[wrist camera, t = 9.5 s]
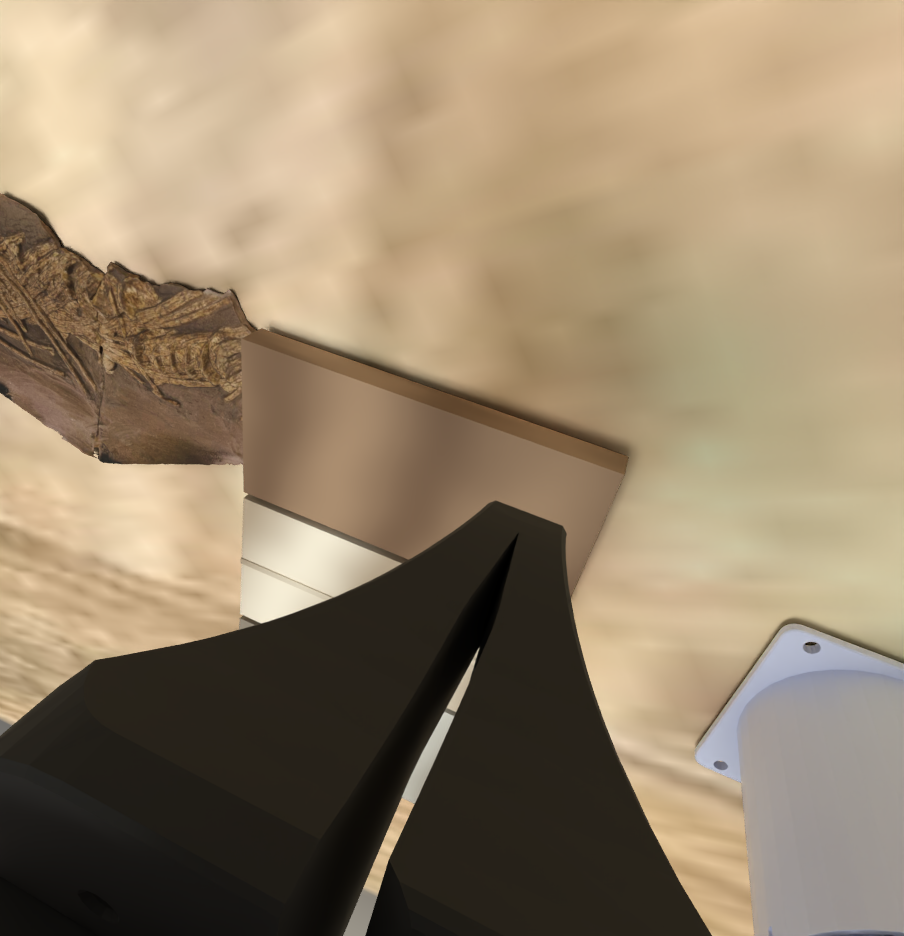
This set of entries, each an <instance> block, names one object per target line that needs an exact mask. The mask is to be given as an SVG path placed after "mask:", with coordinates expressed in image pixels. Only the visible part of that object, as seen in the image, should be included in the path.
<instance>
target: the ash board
mask: <svg viewBox="0 0 904 936" xmlns="http://www.w3.org/2000/svg"><path fill="white" fill-rule="evenodd" d="M407 560H408V559H406V558H403V557H401V556H399V555H396V554H394V553H391V552H389V551H386V550H384V549H382V548H379V547H377V546H374V545H372V544H369V543H367V542H364V541H362V540H360V539H357V538H355V537H352V536H350V535H347V534H345V533H343V532H340V531H338V530H335V529H333V528H330V527H328V526H326V525H323V524H321V523H318V522H316V521H313V520H311V519H308V518H306V517H304V516H301V515H299V514H296V513H294V512H291V511H289V510H287V509H284V508H282V507H279V506H277V505H274V504H272V503H270V502H267V501H265V500H262V499H260V498H257V497H255V496H252V495H250V494H248V495H247V496H246V497H244V501H243V534H242V558H241V564H242V568H241V601H240V614H242V615H244V616H246V617H248V618H250V619H253V620H255V621H257V622H259V623H264V622H268V621H271V620H274V619H277V618H280V617H283V616H286V615H289V614H292V613H295V612H297V611H300V610H302V609H305V608H308V607H310V606H313V605H315V604H318V603H321V602H323V601H326V600H328V599H331V598H333V597H336V596H338V595H340V594H342V593H345V592H347V591H349V590H351V589H354V588H356V587H358V586H360V585H362V584H364V583H366V582H369V581H371V580H373V579H374V578H376V577H378V576H380V575H382V574H384V573H386V572H388V571H390V570H391V569H393V568H395V567H397V566H398V565H400V564H402V563H404V562H406V561H407ZM478 651H479V649H478ZM478 651H477V653H476V654H475V656H474V658H473V660H472V662H471V664H470V666H469V667H468V669H467V671H466V673H465V675H464V677H463V678H462V680H461V682H460V684H459V686H458V688H457V690H456V691H455V693H454V695H453V697H452V699H451V701H450V702H449V704H448V706H447V708H448V709H450V710H452V711H455V712H457V709H458V707H459V705H460V702H461V700H462V698H463V696H464V693H465V691H466V689H467V686H468V684H469V681H470V678H471V674H472V671H473V668H474V664H475V661H476V657H477V654H478Z"/></svg>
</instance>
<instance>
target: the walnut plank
mask: <svg viewBox="0 0 904 936" xmlns="http://www.w3.org/2000/svg"><path fill="white" fill-rule="evenodd" d="M241 361H242V418H243V475H244V492H245V493H248V494H250V495H252V496H255V497H257V498H260V499H262V500H265V501H267V502H270V503H272V504H274V505H277V506H279V507H282V508H284V509H287V510H289V511H291V512H294V513H296V514H299V515H301V516H304V517H306V518H308V519H311V520H313V521H316V522H318V523H321V524H323V525H326V526H328V527H330V528H333V529H335V530H338V531H340V532H343V533H345V534H347V535H350V536H352V537H355V538H357V539H360V540H362V541H364V542H367V543H369V544H372V545H374V546H377V547H379V548H382V549H384V550H386V551H389V552H391V553H394V554H396V555H399V556H401V557H403V558H406V559H408V560H409V559H411V558H413V557H414V556H416V555H418V554H419V553H421V552H423V551H424V550H426V549H427V548H429V547H430V546H432V545H433V544H435V543H436V542H438V541H439V540H441V539H442V538H444V537H445V536H447V535H448V534H450V533H451V532H453V531H454V530H456V529H457V528H458V527H460V526H461V525H462V524H464V523H465V522H466V521H468V520H469V519H470V518H472V517H473V516H474V515H475V514H477V513H478V512H479V511H480V510H481V509H482V508H484V507H485V506H486V505H487V504H488V503H490V502H493V501H499V502H501V503H504V504H507V505H509V506H512V507H515V508H517V509H520V510H523V511H525V512H528V513H530V514H533V515H536V516H538V517H541V518H544V519H546V520H549V521H552V522H554V523H557V524H559V525H562V526H563V527H564V529H565V531H566V533H567V536H566V566H567V577H568V585H569V592H570V597H571V595H572V593H573V591H574V589H575V586H576V584H577V582H578V580H579V577H580V575H581V573H582V570H583V568H584V566H585V564H586V561H587V559H588V557H589V555H590V552H591V550H592V548H593V546H594V543H595V541H596V539H597V536H598V534H599V532H600V530H601V527H602V525H603V523H604V521H605V518H606V516H607V514H608V512H609V509H610V507H611V505H612V503H613V500H614V498H615V496H616V493H617V491H618V489H619V487H620V484H621V482H622V480H623V478H624V475H625V471H626V467H627V462H628V458H629V457H628V456H625V455H622V454H620V453H617V452H614V451H611V450H608V449H605V448H602V447H600V446H597V445H594V444H591V443H588V442H585V441H582V440H579V439H577V438H574V437H571V436H568V435H565V434H562V433H559V432H557V431H554V430H551V429H548V428H545V427H542V426H539V425H536V424H534V423H531V422H528V421H525V420H522V419H519V418H516V417H514V416H511V415H508V414H505V413H502V412H499V411H496V410H494V409H491V408H488V407H485V406H482V405H479V404H476V403H473V402H471V401H468V400H465V399H462V398H459V397H456V396H453V395H451V394H448V393H445V392H442V391H439V390H436V389H433V388H430V387H428V386H425V385H422V384H419V383H416V382H413V381H410V380H408V379H405V378H402V377H399V376H396V375H393V374H390V373H387V372H385V371H382V370H379V369H376V368H373V367H370V366H367V365H365V364H362V363H359V362H356V361H353V360H350V359H347V358H345V357H342V356H339V355H336V354H333V353H330V352H327V351H324V350H322V349H319V348H316V347H313V346H310V345H307V344H304V343H302V342H299V341H296V340H293V339H290V338H287V337H284V336H281V335H279V334H276V333H273V332H270V331H267V330H264V329H259V330H257V331H255V332H253V333H251V334H249V335H247V336H245V337H243V338H241Z"/></svg>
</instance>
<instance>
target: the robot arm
mask: <svg viewBox="0 0 904 936" xmlns="http://www.w3.org/2000/svg"><path fill="white" fill-rule="evenodd" d="M566 536H567V533H566V531H565V529H564V527H563V526H562V525H559V524H557V523H554V522H552V521H549V520H546V519H544V518H541V517H538V516H536V515H533V514H530V513H528V512H525V511H523V510H520V509H517V508H515V507H512V506H509V505H507V504H504V503H501V502H499V501H493V502H490V503H488V504H487V505H486V506H485V507H484V508H482V509H481V510H480V511H479V512H478V513H477V514H475V515H474V516H473V517H472V518H470V519H469V520H468V521H466V522H465V523H464V524H462V525H461V526H460V527H458V528H457V529H456V530H454V531H453V532H451V533H450V534H448V535H447V536H445V537H444V538H442V539H441V540H439V541H438V542H436V543H435V544H433V545H432V546H430V547H429V548H427V549H426V550H424V551H423V552H421V553H419V554H418V555H416V556H414V557H413V558H411V559H409V560H407V561H406V562H404V563H402V564H400V565H398V566H397V567H395V568H393V569H391V570H390V571H388V572H386V573H384V574H382V575H380V576H378V577H376V578H374V579H373V580H371V581H369V582H366V583H364V584H362V585H360V586H358V587H356V588H354V589H351V590H349V591H347V592H345V593H342V594H340V595H338V596H336V597H333V598H331V599H328V600H326V601H323V602H321V603H318V604H315V605H313V606H310V607H308V608H305V609H302V610H300V611H297V612H295V613H292V614H289V615H286V616H283V617H280V618H277V619H274V620H271V621H268V622H264V623H261V624H257V625H254V626H250V627H247V628H243V629H240V630H236V631H233V632H229V633H226V634H222V635H219V636H215V637H211V638H207V639H203V640H198V641H194V642H189V643H185V644H180V645H175V646H170V647H164V648H159V649H154V650H149V651H144V652H138V653H133V654H128V655H123V656H117V657H111V658H105V659H99V660H95V661H93V662H92V663H91V664H89V665H88V666H87V667H85V668H84V669H83V670H81V671H80V672H79V673H77V674H76V675H74V676H73V677H72V678H70V679H69V680H67V681H66V682H65V683H63V684H62V685H60V686H59V687H58V688H57V689H55V690H54V691H53V692H52V693H50V694H49V695H48V696H47V697H46V698H44V699H43V700H42V701H41V702H40V703H38V704H37V705H36V706H35V707H34V708H33V709H31V710H30V711H29V712H28V713H27V714H25V715H24V716H23V717H22V718H21V719H20V720H18V721H17V722H16V723H15V724H14V725H13V726H11V727H10V728H9V729H8V730H7V731H6V732H5V733H3V734H2V735H1V736H0V936H343V934H344V932H345V929H346V927H347V925H348V922H349V920H350V918H351V915H352V913H353V910H354V908H355V906H356V903H357V901H358V899H359V896H360V894H361V892H362V889H363V887H364V885H365V882H366V880H367V877H368V875H369V873H370V870H371V868H372V866H373V863H374V861H375V859H376V856H377V854H378V852H379V849H380V847H381V844H382V842H383V840H384V837H385V835H386V833H387V830H388V828H389V826H390V823H391V821H392V819H393V816H394V814H395V812H396V809H397V807H398V805H399V802H400V800H401V798H402V795H403V793H404V791H405V788H406V786H407V784H408V781H409V779H410V777H411V775H412V773H413V771H414V769H415V767H416V765H417V762H418V760H419V758H420V756H421V754H422V752H423V750H424V748H425V747H426V745H427V743H428V741H429V739H430V737H431V736H432V734H433V732H434V730H435V728H436V726H437V725H438V723H439V721H440V719H441V717H442V715H443V713H444V712H445V710H446V708H447V706H448V704H449V702H450V701H451V699H452V697H453V695H454V693H455V691H456V690H457V688H458V686H459V684H460V682H461V680H462V678H463V677H464V675H465V673H466V671H467V669H468V667H469V666H470V664H471V662H472V660H473V658H474V656H475V654H476V653H477V651H478V649H479V651H478V654H477V657H476V661H475V664H474V668H473V671H472V674H471V678H470V681H469V684H468V686H467V689H466V691H465V693H464V696H463V698H462V700H461V702H460V705H459V707H458V709H457V712H456V714H455V716H454V718H453V720H452V723H451V725H450V727H449V729H448V732H447V734H446V736H445V738H444V741H443V743H442V745H441V747H440V750H439V752H438V754H437V756H436V759H435V761H434V763H433V765H432V767H431V770H430V772H429V774H428V776H427V778H426V781H425V783H424V785H423V787H422V789H421V791H420V794H419V796H418V798H417V800H416V802H415V805H414V807H413V809H412V811H411V813H410V815H409V818H408V820H407V822H406V824H405V826H404V829H403V831H402V833H401V835H400V837H399V839H398V841H397V844H396V846H395V848H394V850H393V852H392V854H391V856H390V859H389V861H388V864H387V868H386V871H385V874H384V877H383V881H382V884H381V887H380V890H379V894H378V897H377V900H376V903H375V906H374V910H373V913H372V917H371V920H370V923H369V926H368V929H367V933H366V935H365V936H712V935H711V933H710V932H709V930H708V928H707V927H706V925H705V923H704V922H703V920H702V918H701V917H700V915H699V913H698V912H697V910H696V908H695V907H694V905H693V904H692V902H691V900H690V899H689V897H688V895H687V894H686V892H685V890H684V889H683V887H682V885H681V883H680V882H679V880H678V878H677V876H676V874H675V872H674V870H673V868H672V867H671V865H670V863H669V861H668V859H667V857H666V855H665V853H664V851H663V850H662V848H661V846H660V844H659V842H658V840H657V838H656V836H655V834H654V832H653V831H652V829H651V827H650V825H649V822H648V820H647V818H646V816H645V814H644V812H643V810H642V807H641V805H640V803H639V801H638V799H637V797H636V794H635V792H634V790H633V788H632V786H631V784H630V781H629V779H628V777H627V775H626V773H625V771H624V768H623V766H622V764H621V762H620V760H619V758H618V755H617V753H616V751H615V748H614V745H613V743H612V740H611V738H610V735H609V733H608V730H607V728H606V725H605V722H604V720H603V717H602V714H601V711H600V709H599V706H598V703H597V700H596V697H595V694H594V691H593V688H592V685H591V682H590V679H589V675H588V672H587V668H586V665H585V661H584V658H583V654H582V650H581V646H580V642H579V638H578V634H577V629H576V625H575V620H574V615H573V609H572V603H571V597H570V592H569V585H568V577H567V566H566ZM807 642H816V643H817V644H816V645H813V646H808V645H805V643H807ZM695 759H696V761H697V762H698V763H699V764H700V765H702V766H704V767H706V768H708V769H711V770H713V771H715V772H717V773H720V774H722V775H724V776H727V777H729V778H731V779H733V780H736V781H738V782H740V783H741V786H742V798H743V809H744V821H745V833H746V844H747V856H748V868H749V880H750V891H751V903H752V915H753V926H754V936H904V664H903V663H901V662H898V661H896V660H893V659H890V658H888V657H885V656H882V655H880V654H877V653H875V652H872V651H869V650H867V649H864V648H861V647H859V646H856V645H854V644H851V643H848V642H846V641H843V640H841V639H838V638H835V637H833V636H830V635H827V634H825V633H822V632H820V631H817V630H814V629H812V628H809V627H806V626H804V625H800V624H788V625H785V626H783V627H782V628H781V629H780V630H779V632H778V633H777V635H776V636H775V637H774V639H773V640H772V642H771V643H770V644H769V646H768V647H767V649H766V650H765V651H764V653H763V654H762V656H761V657H760V658H759V660H758V661H757V663H756V664H755V665H754V667H753V668H752V669H751V671H750V672H749V674H748V675H747V676H746V678H745V679H744V681H743V682H742V683H741V685H740V686H739V688H738V689H737V690H736V692H735V693H734V695H733V696H732V697H731V699H730V700H729V702H728V703H727V704H726V706H725V707H724V709H723V710H722V711H721V713H720V714H719V716H718V717H717V718H716V720H715V721H714V723H713V724H712V725H711V727H710V728H709V730H708V731H707V732H706V734H705V735H704V737H703V738H702V739H701V741H700V742H699V744H698V745H697V746H696V748H695ZM720 761H723V762H720Z"/></svg>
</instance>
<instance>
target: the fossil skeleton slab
mask: <svg viewBox="0 0 904 936" xmlns="http://www.w3.org/2000/svg"><path fill="white" fill-rule="evenodd" d="M107 271H108V272H107V273H106V274H104V273H102V272H101V271H100V270H99V269H98V268H96V267H93V266H91V265H90V263H89V262H87V261H86V260H85V259H84V258H82V257H80V256H79V255H77V254H74V253H72V252H70V251H68V250H67V249H66V248H62V247H61V245H60V242H59V238H58V237H57V236H56V235H55V234H54V233H53V231H52V230H51V229H50V227H48V226H47V225H45V224H44V222H43V221H42V220H41V219H40V218H39V217H38V215H37V214H36V213H33V212H32V211H31V210H30V209H28V208H27V207H25V206H24V205H22V204H21V203H19V202H17V201H15V200H12V199H10V198H8V197H6V196H5V195H3V194H0V393H1V394H3V395H4V396H5V397H7V398H9V399H10V400H11V401H13V402H14V403H15V404H17V405H18V406H20V407H21V408H22V409H23V410H25V411H27V412H28V413H30V414H31V415H32V416H34V417H36V419H38V420H40V421H41V422H42V423H43V424H44V425H45V426H47V427H49V428H52V429H54V430H55V431H58V433H59V434H60V435H62V436H63V437H62V439H64V440H66V441H68V442H69V443H71V444H72V445H74V446H75V447H76V448H78V449H79V450H80V451H81V452H83V453H84V454H87V455H89V456H92V457H95V456H94V455H93V454H95V453H94V448H95V447H98V448H99V454H97V455H99V456H98V459H99V460H100V461H101V462H103V463H113V464H114V463H117V464H162V463H163V464H204V465H210V464H216V465H223V464H227V463H228V464H229V465H230V464H232V465H238V464H240V463H241V464H243V418H242V361H241V338H243V337H245V336H247V335H249V334H251V333H253V332H255V331H256V329H254V328H252V327H251V326H250V325H251V324H250V323H249V322H248V321H247V320H246V318H245V316H244V313H243V312H242V310H241V308H240V305H239V302H238V300H237V298H236V295H235V294H234V293H232V292H231V291H230V290H228V291H227V292H225V293H224V294H223V293H218V292H215V291H212V290H211V289H208V288H207V289H206V290H204V291H203V290H201V289H199V290H190V289H188V288H187V287H184V286H182V285H179V284H174V283H172V282H171V283H169V284H161V285H160V286H158V285H152V284H151V283H149V282H144V281H143V279H142V278H141V277H140V275H134V274H131V273H129V272H126V271H125V270H124V269H123V268H121V267H119V266H118V265H116V264H115V263H113V262H110V264H109V265H108V266H107ZM95 458H97V457H95Z"/></svg>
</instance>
